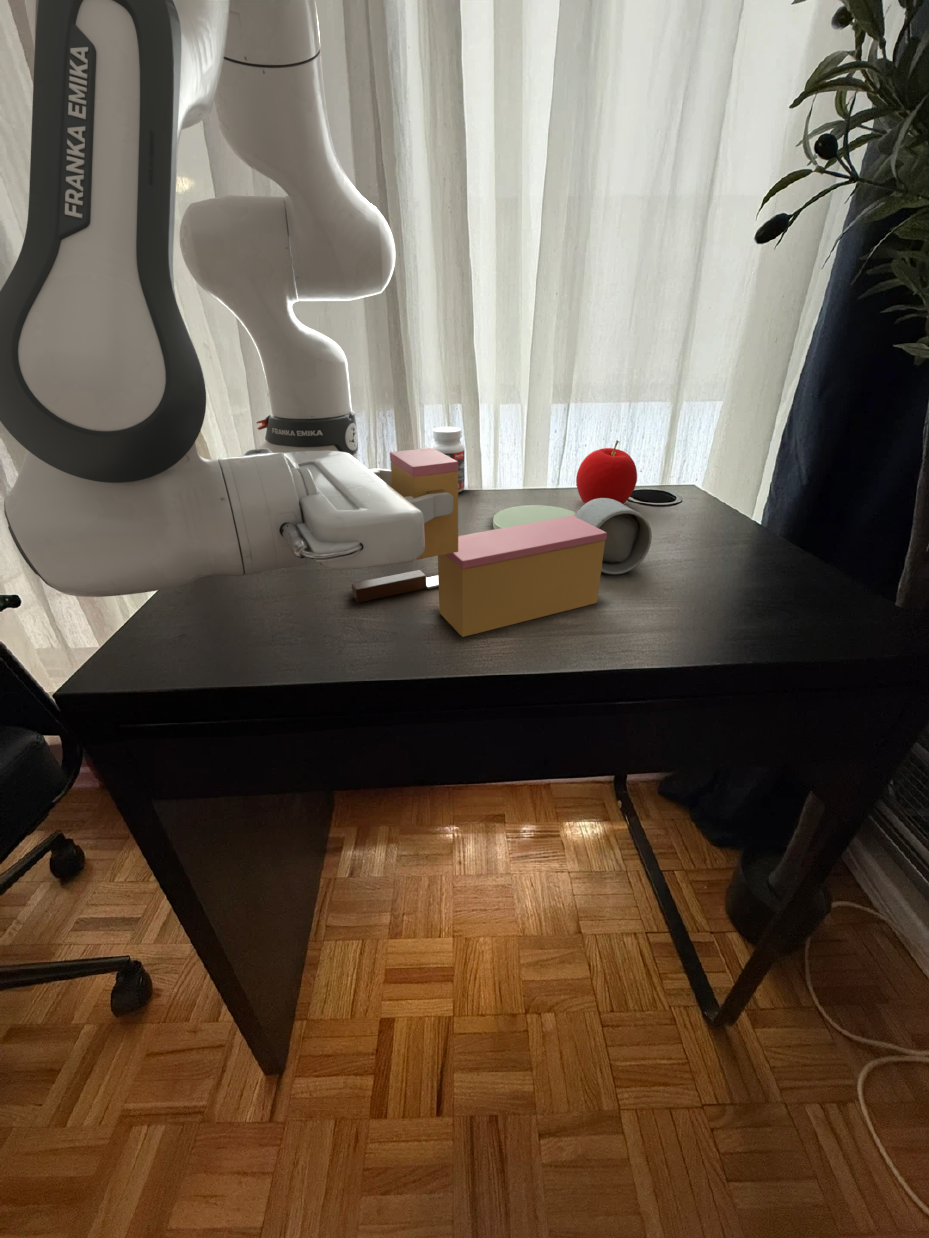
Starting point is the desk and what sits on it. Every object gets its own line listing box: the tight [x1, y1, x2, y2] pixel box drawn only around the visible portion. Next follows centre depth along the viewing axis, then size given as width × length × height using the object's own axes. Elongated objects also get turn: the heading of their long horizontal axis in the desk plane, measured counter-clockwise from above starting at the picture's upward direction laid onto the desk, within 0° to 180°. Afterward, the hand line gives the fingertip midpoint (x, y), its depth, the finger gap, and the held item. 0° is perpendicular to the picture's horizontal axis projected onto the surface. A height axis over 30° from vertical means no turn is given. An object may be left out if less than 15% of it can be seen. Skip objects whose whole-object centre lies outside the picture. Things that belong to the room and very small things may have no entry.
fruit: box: [575, 439, 638, 505], centre depth 86 cm, size 9×9×10 cm
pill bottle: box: [429, 426, 466, 493], centre depth 94 cm, size 6×6×10 cm
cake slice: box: [389, 447, 459, 560], centre depth 50 cm, size 4×6×8 cm
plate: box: [492, 504, 577, 530], centre depth 81 cm, size 13×13×1 cm
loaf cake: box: [437, 516, 607, 638], centre depth 58 cm, size 16×6×8 cm, turn 116°
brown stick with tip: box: [351, 569, 439, 604], centre depth 65 cm, size 20×2×2 cm, turn 116°
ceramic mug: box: [575, 498, 653, 575], centre depth 68 cm, size 11×8×8 cm
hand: (433, 489), depth 50 cm, fingers closed on cake slice, 5 cm apart
